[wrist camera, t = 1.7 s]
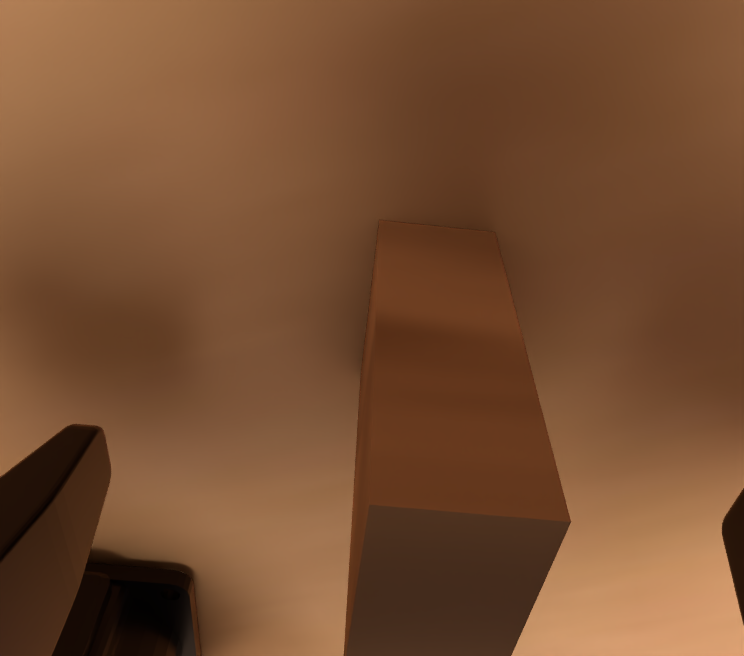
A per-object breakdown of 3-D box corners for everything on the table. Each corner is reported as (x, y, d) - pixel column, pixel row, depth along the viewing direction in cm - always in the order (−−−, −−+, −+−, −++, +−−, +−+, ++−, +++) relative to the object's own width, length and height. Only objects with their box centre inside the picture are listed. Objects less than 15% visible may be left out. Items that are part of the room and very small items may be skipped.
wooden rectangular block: (458, 384, 13) (495, 689, 9) (360, 375, 13) (342, 678, 9) (494, 232, 11) (571, 522, 7) (379, 220, 11) (368, 504, 6)
